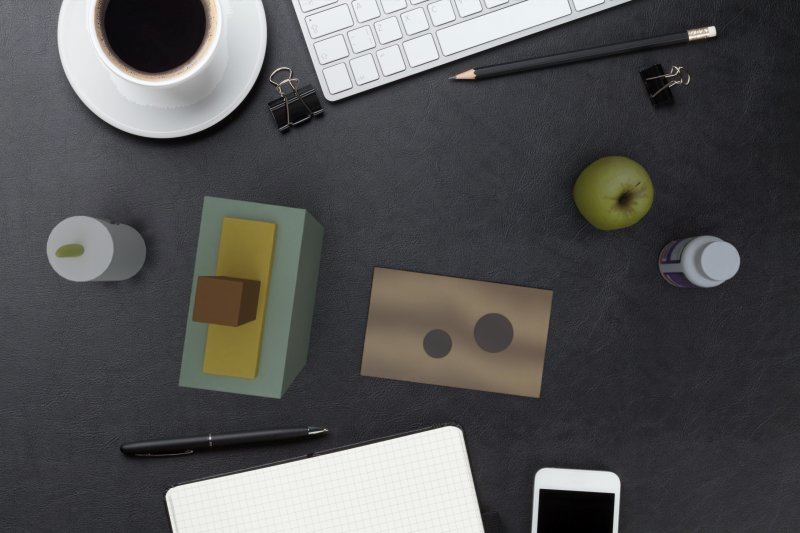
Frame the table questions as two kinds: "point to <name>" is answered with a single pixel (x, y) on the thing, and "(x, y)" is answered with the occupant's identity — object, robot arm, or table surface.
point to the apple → (613, 193)
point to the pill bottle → (698, 261)
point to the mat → (456, 332)
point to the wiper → (237, 298)
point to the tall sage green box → (285, 299)
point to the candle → (95, 249)
